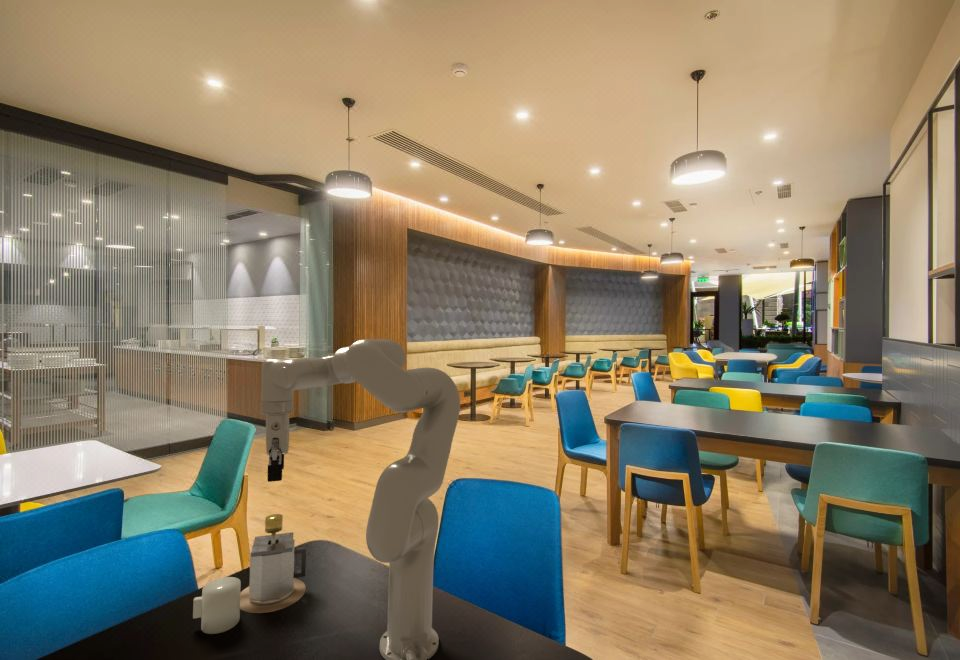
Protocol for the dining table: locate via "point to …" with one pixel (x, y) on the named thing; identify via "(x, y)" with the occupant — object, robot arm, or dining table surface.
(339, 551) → the dining table surface
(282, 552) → the grey handled container
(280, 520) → the plunger
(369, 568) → the dining table surface
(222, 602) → the mug
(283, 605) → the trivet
